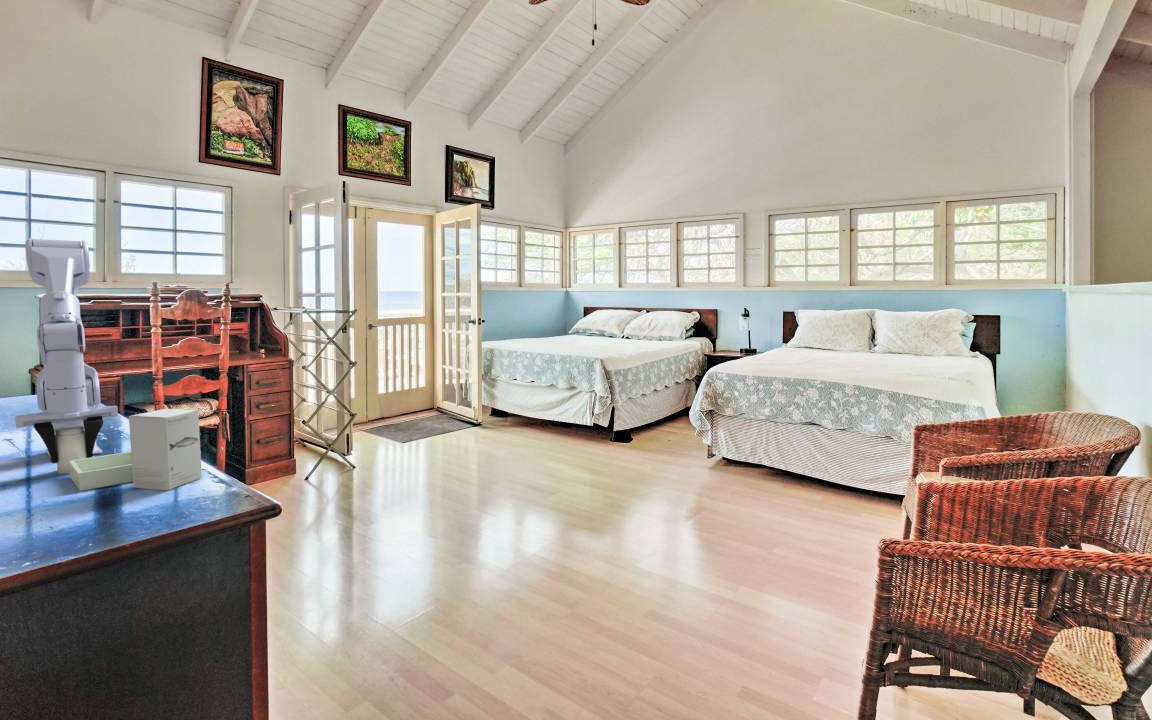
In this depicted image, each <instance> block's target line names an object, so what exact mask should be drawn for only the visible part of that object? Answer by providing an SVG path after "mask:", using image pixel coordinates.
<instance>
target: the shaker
mask: <svg viewBox="0 0 1152 720" xmlns="http://www.w3.org/2000/svg"><path fill="white" fill-rule="evenodd" d="M55 432H56V434H55V448H56V453H57V459H58V463H56V468H57V473H58V474H62V475H64V474H66V475H68V474H69V475H70V469H69V461H70V460H77V459H84V458H87V449H86V437H85V431H84V429H83V426H69V427H62V428H58V429H55Z"/></svg>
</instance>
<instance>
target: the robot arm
mask: <svg viewBox="0 0 1152 720" xmlns="http://www.w3.org/2000/svg"><path fill="white" fill-rule="evenodd" d="M24 244H25V245H24V246H25V247H24V248H25V257H26V264H27V267H28V271H29V276H30V278H31V279H32V283H34V284H36V285H38V286H42V287H44V289H45V291H46V293H45V294H43V295H42V296H41V298H40V300H39V306H40V307H39V309H40V310H39V311H40V313H39V315H40V316H39V317H40V326H39V325H37V328H36V340H37V341H36V342H37V347H38V351H39V354H40V357H41V359H40V360H41V365H43V369H42V370H40V371H39V372H38V374H37V375H36V401H37V408H38V410H40V412H33V413H27V414H18V415H14V425H15V428H16V429H19V428H20V429H21V428H25V427H31V426H33V428H34V429H35V431H36V432H37V435H39V437H40V438H41V440H42V441H43V443H44V445H45V447H46V448H47V449H45V452H46V454H47V456H48V457H49V459H50V461H51V463H52V464H57V463H58V459H57V453H56V448H55V434H56V432H55V429H58V428H62V427H69V426H83V429H84V431H85V437H86V449H87V458H90V457H94V456H93V455H97V454H103V450H102V449H101V448H100V447H99V446H98V445H97V438H98V436H99V433H100V432H101V429H102V427H103V425H104V418H109V417H110V418H115V417H116V418H117V417H119V412H118V406H117V405H106V406H104V405H103V406H100V405H101V404H102V402H101V391H100V390H101V388H100V379H99V373H98V371H96V368H94V367H92V366H89V365H88V364H86V363H85V362H84V361H85V359H84V353H85V350H86V337H85V326H84V325H83V322H82V317H81V304H80V299H79V298H78V297H77V295H78V293H79V289H80V288H81V287H83V286H85V285H87V284H89V283H90V281H89V280H90V279H91V273H90V268H91V265H90V264H91V263H90V252H89V250H90V249H89V243H88V242H87V241H86V240H64V239H63V240H61V239H43V238H42V239H40V238H38V239H37V238H32V237H28V238H27V239H26V240H25V243H24ZM80 346H82V351H80Z"/></svg>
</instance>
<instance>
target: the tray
mask: <svg viewBox="0 0 1152 720" xmlns="http://www.w3.org/2000/svg"><path fill="white" fill-rule="evenodd" d="M69 469H70V473H69V478H70V479H71V480H72V482H73V483H74V485H75V486H76V488H77V490H79V492H81V491H88V490H93V489H98V488H105V487H110V486H116V485H120V484H121V485H122V484H126V483H133V472H132V457H131V451H125V452H119V453H113V454H111V453H110V454H105V455H98V456H92V457H90V458H84V459H77V460H70V461H69Z"/></svg>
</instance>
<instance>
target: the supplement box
mask: <svg viewBox="0 0 1152 720" xmlns="http://www.w3.org/2000/svg"><path fill="white" fill-rule="evenodd" d="M199 421H200V418H199V410H198V409H189V408H187V409H186V408H184V409H183V408H162V409H157V410H152V411H148V412H144V413H143V412H142V413H138V414H131V415H129V416H128V425H129V426H128V427H129V438H130V440H129V441H130V442H129V443H130V452H131V457H132V472H133V482H132V483H133V484H132V485H133V488H136V489H146V490H156V491H157V490H158V491H170V490H173V489H174V488H177V487H180V486H182V485H185V484H188V483H191V482H194V481H197V480H201V479H202V478H203V477H202V476H203V475H202V456H201V455H202V454H201V442H200V441H201V438H200V436H201V435H200V422H199Z"/></svg>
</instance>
